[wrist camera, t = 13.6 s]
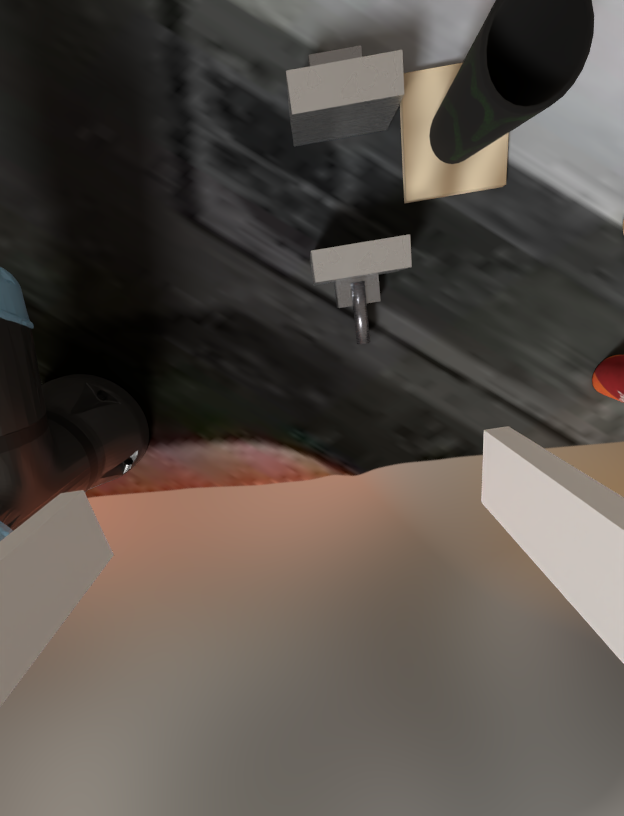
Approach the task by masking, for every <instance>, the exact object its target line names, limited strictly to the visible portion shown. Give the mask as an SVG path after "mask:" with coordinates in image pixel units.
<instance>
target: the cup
mask: <svg viewBox="0 0 624 816" xmlns="http://www.w3.org/2000/svg"><path fill="white" fill-rule="evenodd" d="M593 31H594V12H593V6H592V0H496V1H495V3H494V5H493V7H492V9H491V11H490V13H489V15H488V16H487V18H486V20H485V22H484V24H483V26H482V28H481V30H480V31H479V33H478V35H477V37H476V39H475V41H474V43H473V45H472V47H471V48H470V50H469V52H468V54H467V56H466V58H465V60H464V62H463V64H462V65H461V67H460V69H459V71H458V73H457V75H456V77H455V79H454V80H453V82H452V84H451V86H450V88H449V90H448V92H447V94H446V96H445V97H444V99H443V101H442V103H441V105H440V107H439V109H438V111H437V112H436V114H435V116H434V118H433V120H432V124H431V127H430V135H429V137H430V145H431V148H432V151H433V152H434V154H435V156H436V157H437V158H438V159H439V160H441V161H442V162H445V163H448V164H457V163H460V162H462V161H465V160H466V159H468V158H469V157H471V156H472V155H474V154H476V153H477V152H479V151H480V150H482V149H483V148H485V147H487V146H488V145H490V144H491V143H493V142H494V141H496V140H498V139H499V138H501V137H502V136H504V135H505V134H507V133H509V132H510V131H512V130H513V129H515V128H516V127H518V126H520V125H521V124H523V123H524V122H526V121H527V120H529V119H531V118H532V117H534V116H535V115H537V114H538V113H540V112H542V111H543V110H545V109H546V108H548V107H549V106H551V105H552V104H553V103H555V102H556V101H557V100H559V99H560V98H561V97H563V96H564V94H565V93H566V92H567V91H568V90H569V89H570V88H571V86H572V85H573V84H574V83H575V81H576V79H577V78H578V76H579V74H580V73H581V71H582V69H583V67H584V65H585V62H586V60H587V57H588V55H589V52H590V47H591V43H592V38H593Z"/></svg>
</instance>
